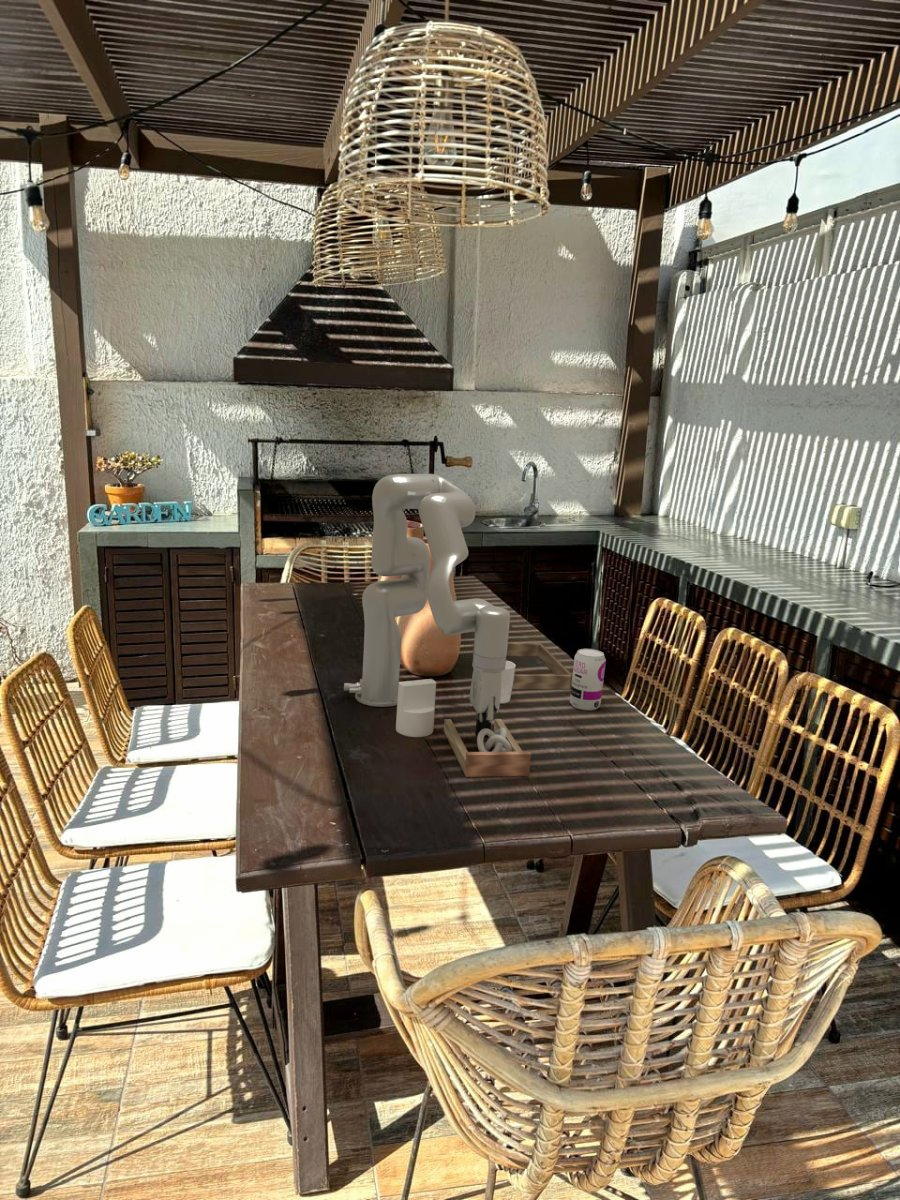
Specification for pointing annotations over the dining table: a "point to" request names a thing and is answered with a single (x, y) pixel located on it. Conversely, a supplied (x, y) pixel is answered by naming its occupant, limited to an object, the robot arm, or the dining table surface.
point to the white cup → (507, 682)
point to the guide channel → (489, 756)
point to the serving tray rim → (556, 681)
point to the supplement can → (587, 679)
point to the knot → (493, 741)
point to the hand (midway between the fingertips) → (482, 736)
